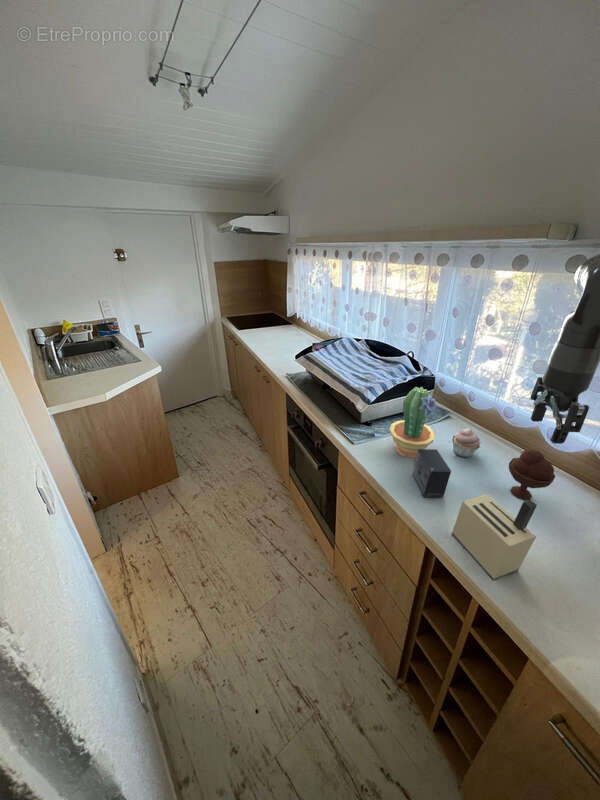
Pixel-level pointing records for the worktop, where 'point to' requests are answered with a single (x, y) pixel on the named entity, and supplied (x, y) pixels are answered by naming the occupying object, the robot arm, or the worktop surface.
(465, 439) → the cupcake
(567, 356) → the robot arm
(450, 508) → the worktop surface
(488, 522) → the toaster
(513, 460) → the ice cream bowl
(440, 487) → the small box
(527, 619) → the worktop surface
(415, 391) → the potted cactus
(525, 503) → the slider
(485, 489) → the worktop surface
